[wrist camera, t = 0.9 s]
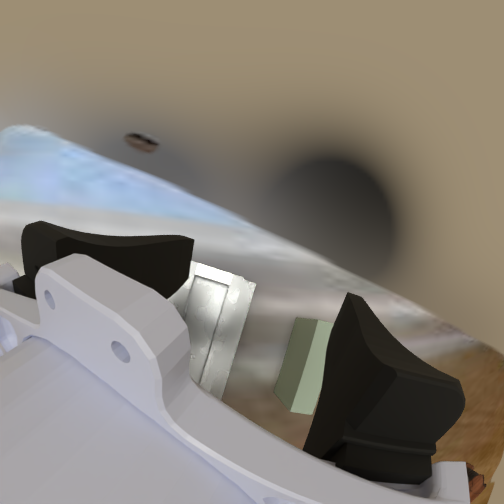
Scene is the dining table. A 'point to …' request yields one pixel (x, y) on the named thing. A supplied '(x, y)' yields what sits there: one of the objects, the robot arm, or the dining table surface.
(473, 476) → the brown openwork sculpture
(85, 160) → the dining table surface
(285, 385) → the door panel
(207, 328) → the door track
